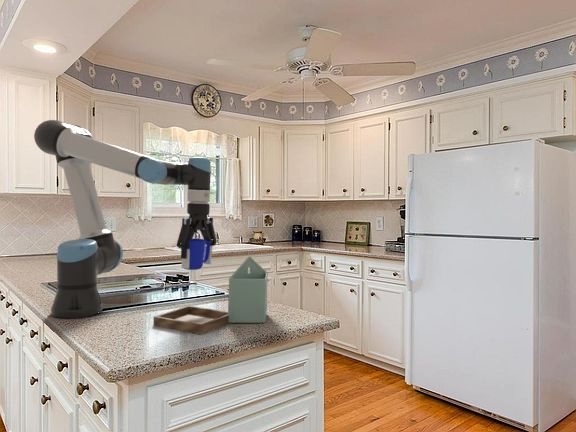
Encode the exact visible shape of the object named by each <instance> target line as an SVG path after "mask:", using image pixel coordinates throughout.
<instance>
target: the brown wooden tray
mask: <svg viewBox="0 0 576 432" xmlns="http://www.w3.org/2000/svg"><path fill="white" fill-rule="evenodd" d="M152 322H153V326H155V327H161V328H165V329H171V330H175V329H176V331H180V330H181V331H180V332H185V331H187V332H186V333H190V332H192V333H191V334H195V333H198V334H197V335H200V334H203V335H205V334H207V333H206V332H208V331H210V332H212V331H214V330H213V329H215V330H216V328H217V329H219V328H222V327H224V326H226V325H228V323H229V322H228V311H225V310H218V309H214V308H213V309H211V308H206V307H201V306H200V307H199V306H193V305H186V306H183V307H179V308H177V309H173V310H171V311H167V312H165V313H161V314H157V315H155V316H153V321H152ZM229 324H230V323H229ZM223 325H224V326H223ZM221 326H222V327H221ZM218 327H219V328H218ZM211 330H212V331H211ZM204 333H205V334H204ZM208 333H209V332H208Z"/></svg>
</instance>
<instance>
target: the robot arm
mask: <svg viewBox="0 0 576 432" xmlns="http://www.w3.org/2000/svg"><path fill="white" fill-rule="evenodd" d="M33 138H34V142H35V144H36V146H37V147H38V149H40V150H41V151H42V152H43V153H45V154H47V155H52V156H55V161H56V163H57V166H58V167H59V168H61V169H63V171H64V175H65V179H66V182H67V187H68V191H69V194H70V198H71V201H72V206H73V209H74V214H75V218H76V221H77V225H78V228H79V229H78V230H79V232H80V235H79V236H78V238H77V239H70V240H66V241H64V242H62V243H60V244H59V245H58V247H57V254H56V261H57V262H56V263H57V269H56V270H57V271H56V273H57V274H56V275H57V281H56V283H57V286H56V287H57V289H56V290H57V291H56V294H55V297H54V299H53V303H52V305H51V308H50V315H51V316H52V317H54V318H58V319H78V318H79V319H80V318H87V317H91V316H95V315H94V314H96V313H98V312H101V311H102V310H103V308H104V307H103V302H102V299H101V295H100V293H99V292H100V291H99V290H98V275H99V276H100V275H102V274H106V273H109V272H111V271H113V270H115V269H116V268H117V267H118V266H120V264H121V263H122V260H123V257H124V253H123V252H124V250H123V247H122V245H121V244H120V243H119V242H118V241H117V240H115V238H114V236H113V235H114V234H113V232H112V231H111V230H109V229H108V228H107V226H106V221H105V218H104V214H103V211H102V207H101V203H100V199H99V195H98V192H97V187H96V184H95V180H94V176H93V173H92V169H91V168H92V167H91V164H94V165H97V166H101V167H103V168H107V169H110V170H113V171H116V172H119V173H123V174H125V175H128V176H132V177H134V178H137V179H140V180H142V181H143V182H147V183H149V184H151V185H152V184H154V185H155V184H157V185H165V186H167V185H173V186H174V185H175V186H177V185H178V186H181V185H182V186H187V200H186V201H187V202H188V203H187V204H186V206H187V208H186V212H187V214H188V215H189V216H188V217H187V218H186V217H183V218H182V219H181V227H180V232H179V234H178V238H177V242H176V247H177V248H178V249H180V258H181V267H180V268H181V269H184V268H186V269H185V270H187V269H189V261H190V249H188V247H189V241H191V240H192V239H194V236H195V233H197V231H200V233H201V236H202V239H204V240H205V241H210V251H209V256H208V260H207V261H206V262H204V263H203V265H204V264H205V265H212V254H213V247H214V246H215V245H216V244H217V238H216V233H215V228H214V227H215V226H214V218H213V217H212V216H211V217H208V215H209V214H210V210H211V209H210V207H211V206H210V199H211V198H210V197H211V195H210V193H211V176H212V175H211V174H212V169H211V160H210V158H208V157H200V156H199V157H197V156H196V157H195V156H193V157H189V158H188V161H187V162H184V163H183V162H169V161H166V160H162V159H157V158H155V157H151V156H147V155H144V154H141V153H138V152H135V151H134V150H133V151H132V150H130V149H127V148H122V147H120V146H117V145H113V144H110V143H107V142H104V141H102V140H98V139H94V137H93V135H92V134H91V133H90V132H89V131H88V130H87V129H85V128H84V127H82V126H79V125H77V124H71V123H68V122H67V123H66V122H64V121H61V120H57V119H56V120H55V119H48V120H45V121H43V122H41V123H39V125H37V127H36V129H35V130H34V134H33ZM185 244H186V245H185ZM206 247H207V243H205V249H204V258H203V260H204V259H205V255H206ZM102 312H103V311H102ZM102 312H101V313H102ZM96 315H97V314H96Z"/></svg>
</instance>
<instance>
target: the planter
mask: <svg viewBox="0 0 576 432" xmlns="http://www.w3.org/2000/svg"><path fill="white" fill-rule="evenodd" d="M268 274H269V273H268V271H267V270H265V269H264V268H263V266H261V265H260V264H259V263H257V261H256V260H255V259H254V258H252V257H251V256H250V255H249V256H247V258H246V259H245V260H244V261H243V262H242V263H241V264H240V266H238V268H237V269H236V270H235V271H234V272H233V273H232V275H231V276H229V278H228V301H227V302H228V305H227V306H228V310H227V312H228V322H229V324H231V323H232V324H235V323H237V324H238V323H239V324H241V323H242V324H243V323H244V324H245V323H247V324H248V323H249V324H250V323H251V324H258V323H259V324H260V323H262V324H264V323H266V320H267V312H268V311H267V310H268V284H269V282H268V280H269V279H268Z"/></svg>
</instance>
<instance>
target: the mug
mask: <svg viewBox="0 0 576 432" xmlns="http://www.w3.org/2000/svg"><path fill="white" fill-rule="evenodd" d="M206 243H207V245H206ZM185 245H186V244H185ZM205 245H206V246H207V247H206V255H205V259H204V249H205ZM188 249H190V261H189V269H186V268H183V269H184V270H190V271H197V270H200V269H202V268H203V265H204V262H206V261H207V260H208V256H209V251H210V241H205V240H204V238H192V240H191V241H189V247H188Z"/></svg>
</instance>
